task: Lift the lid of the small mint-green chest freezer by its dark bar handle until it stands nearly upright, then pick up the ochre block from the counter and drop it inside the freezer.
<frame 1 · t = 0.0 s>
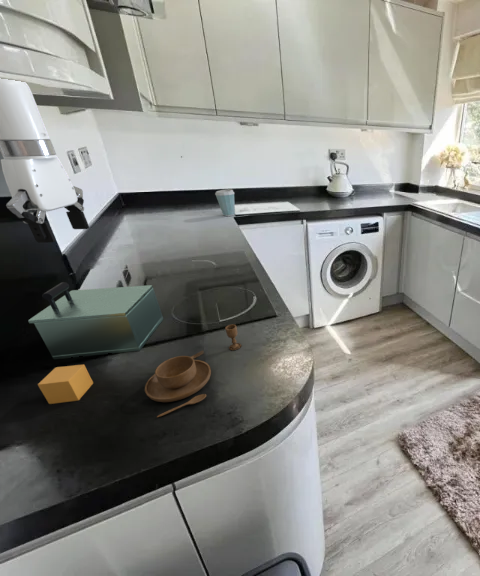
hand: (65, 235, 70), 27 cm above the table, tool pointing down, fingers open, 9 cm apart
freezer lid: (94, 294, 77), point 12 cm above the table, hinge at 0.0°
block: (72, 393, 66), on the table
disposable coffee cup: (229, 215, 200), on the table
place setting: (202, 376, 71), on the table
freezer: (114, 337, 83), on the table
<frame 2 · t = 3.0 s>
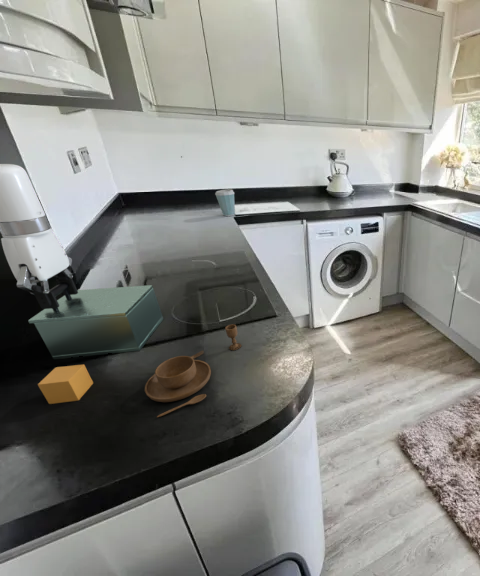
hand: (60, 300, 76), 12 cm above the table, tool pointing down, fingers closed on freezer lid, 6 cm apart
freezer lid: (94, 294, 77), point 12 cm above the table, hinge at 0.0°, touching gripper
everything else where it was.
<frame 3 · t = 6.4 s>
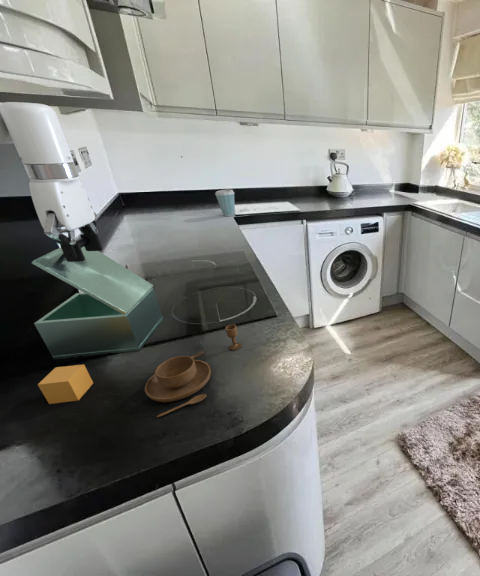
hand: (85, 255, 73), 22 cm above the table, tool pointing down, fingers closed on freezer lid, 6 cm apart
freezer lid: (106, 269, 76), point 19 cm above the table, hinge at 47.2°, touching gripper
everything else where it was.
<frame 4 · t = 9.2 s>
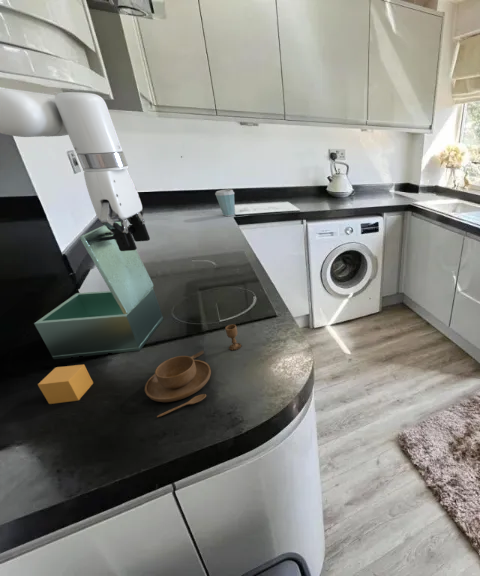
hand: (135, 244, 75), 24 cm above the table, tool pointing down, fingers closed on freezer lid, 6 cm apart
freezer lid: (131, 263, 76), point 20 cm above the table, hinge at 82.5°, touching gripper
everything else where it was.
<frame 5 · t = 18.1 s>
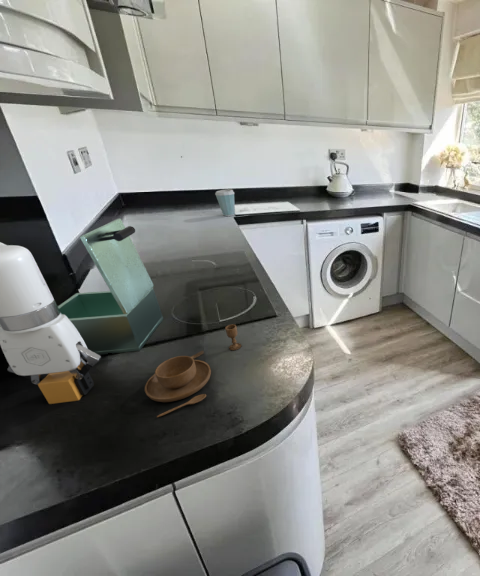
hand: (71, 391, 65), 0 cm above the table, tool pointing down, fingers closed on block, 5 cm apart
freezer lid: (131, 263, 76), point 20 cm above the table, hinge at 82.6°
block: (72, 393, 66), on the table, touching gripper
everything else where it was.
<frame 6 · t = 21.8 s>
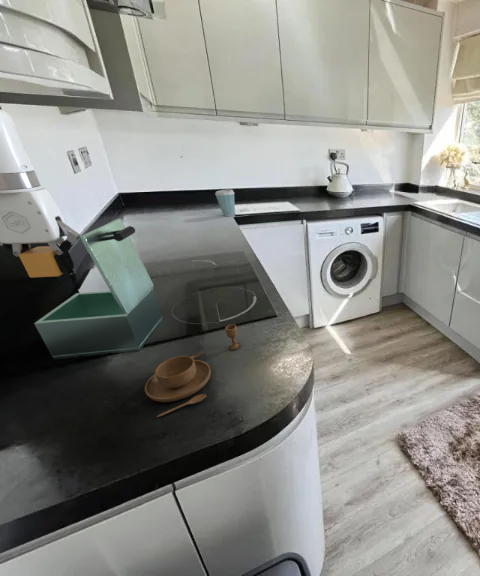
hand: (52, 270, 68), 21 cm above the table, tool pointing down, fingers closed on block, 5 cm apart
block: (52, 272, 69), point 21 cm above the table, touching gripper
everything else where it was.
when the fingers open (9 cm above the table, at t = 25.7 s): block drops 8 cm, resting on freezer.
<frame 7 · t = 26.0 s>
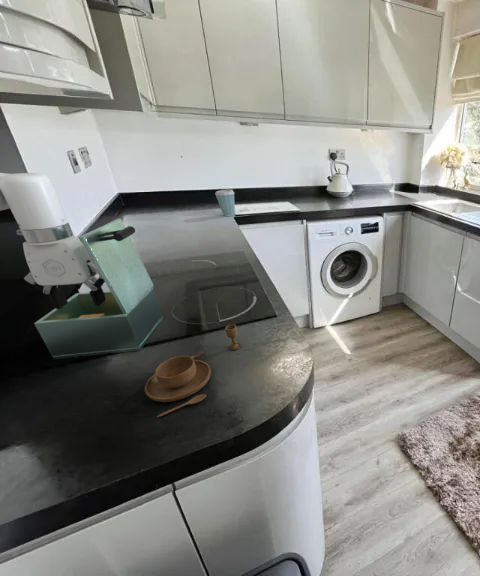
hand: (81, 304, 78), 10 cm above the table, tool pointing down, fingers open, 7 cm apart
block: (94, 336, 82), point 1 cm above the table, touching freezer
everything else where it was.
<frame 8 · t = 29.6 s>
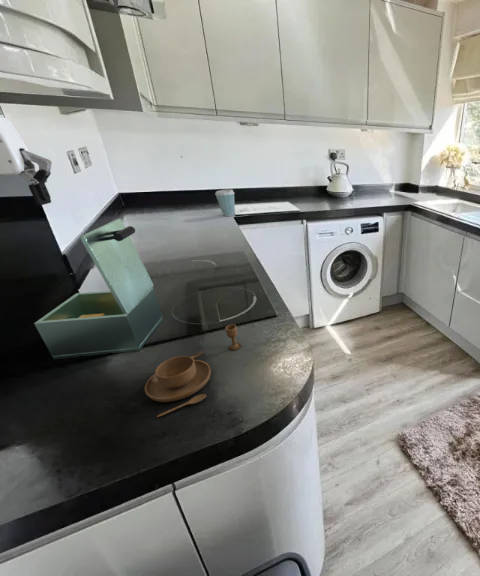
hand: (16, 204, 65), 34 cm above the table, tool pointing down, fingers open, 9 cm apart
nothing on the table moved.
at the end: freezer lid at +83° (first picture: +0°); block inside the target area in the freezer (4.1 cm from its centre), point 0.9 cm above the freezer's base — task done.
